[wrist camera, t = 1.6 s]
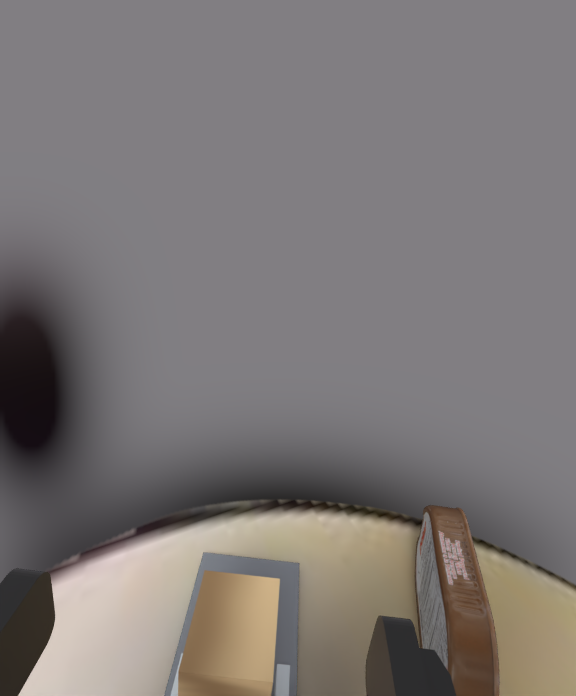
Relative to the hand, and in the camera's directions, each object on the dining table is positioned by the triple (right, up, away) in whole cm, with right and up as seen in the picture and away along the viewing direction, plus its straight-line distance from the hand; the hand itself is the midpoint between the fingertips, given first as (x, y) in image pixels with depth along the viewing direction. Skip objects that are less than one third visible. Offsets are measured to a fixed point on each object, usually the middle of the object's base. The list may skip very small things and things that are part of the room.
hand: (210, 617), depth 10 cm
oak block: (-2, -16, +14) cm, 21 cm away
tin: (+12, -15, +21) cm, 29 cm away
